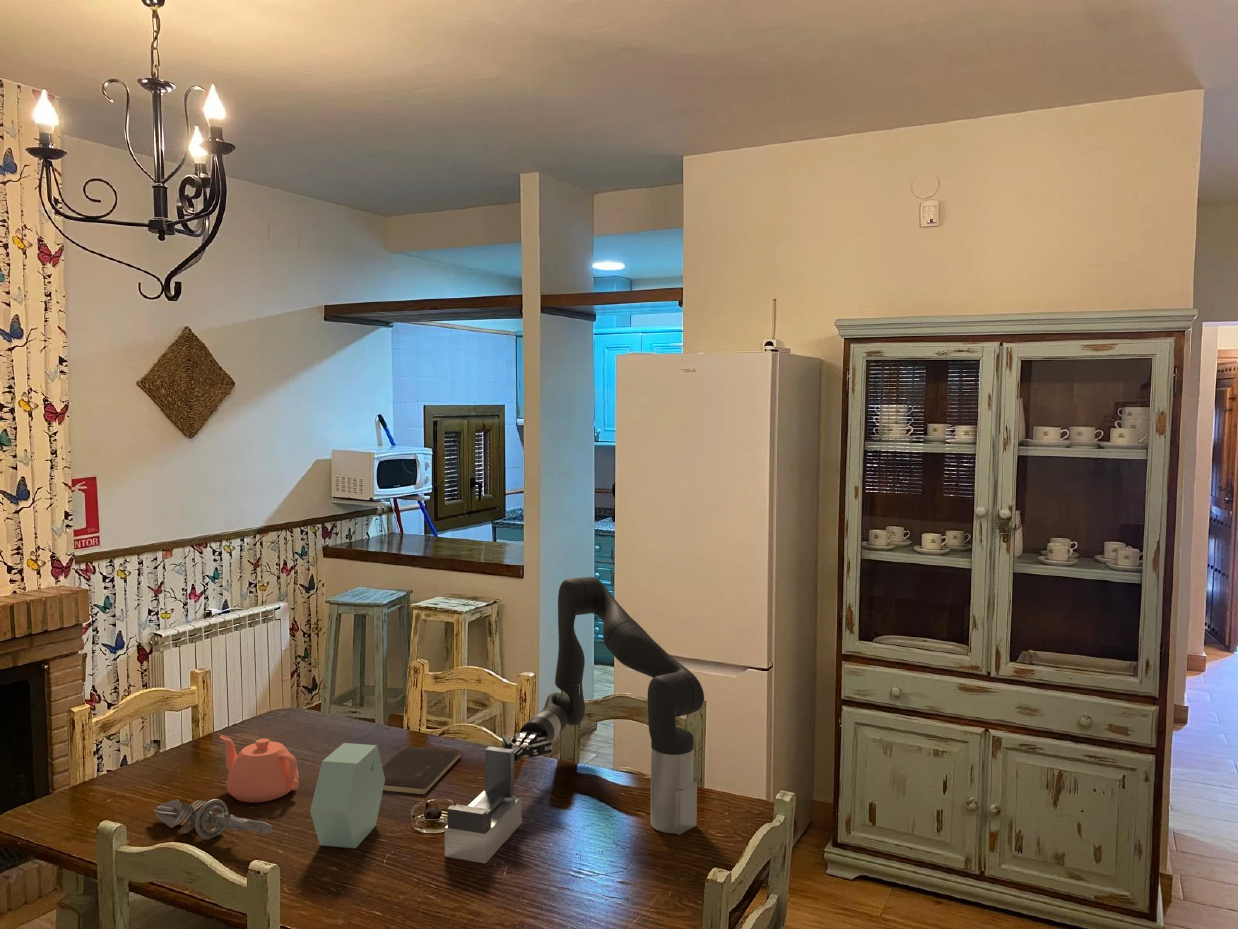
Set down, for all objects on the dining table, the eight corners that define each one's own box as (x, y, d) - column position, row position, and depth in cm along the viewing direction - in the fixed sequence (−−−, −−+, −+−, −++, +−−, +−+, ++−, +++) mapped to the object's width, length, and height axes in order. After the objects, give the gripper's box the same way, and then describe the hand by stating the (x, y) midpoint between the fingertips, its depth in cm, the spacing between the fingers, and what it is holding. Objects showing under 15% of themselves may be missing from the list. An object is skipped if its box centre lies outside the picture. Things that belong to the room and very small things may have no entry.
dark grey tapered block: (488, 791, 196) (488, 746, 195) (514, 794, 194) (514, 749, 193) (466, 812, 185) (466, 765, 184) (492, 816, 183) (492, 769, 183)
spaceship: (251, 828, 174) (279, 798, 181) (133, 810, 190) (163, 783, 196) (267, 859, 177) (294, 828, 184) (149, 838, 192) (178, 811, 199)
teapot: (197, 798, 205) (195, 745, 205) (246, 772, 220) (245, 722, 219) (275, 813, 198) (274, 758, 197) (320, 785, 213) (319, 734, 212)
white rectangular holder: (483, 817, 197) (483, 773, 196) (521, 823, 194) (521, 778, 194) (444, 856, 180) (444, 808, 179) (485, 863, 177) (485, 814, 177)
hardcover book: (461, 759, 231) (461, 750, 230) (425, 797, 208) (425, 787, 208) (403, 753, 234) (403, 745, 234) (362, 791, 211) (361, 781, 211)
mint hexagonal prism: (336, 850, 191) (357, 751, 201) (370, 853, 190) (390, 753, 200) (302, 840, 176) (327, 734, 186) (339, 843, 175) (363, 736, 185)
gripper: (515, 712, 218) (484, 738, 201) (566, 719, 214) (539, 745, 197) (515, 742, 218) (484, 770, 202) (566, 749, 214) (538, 778, 198)
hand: (511, 758), depth 200 cm, fingers closed
